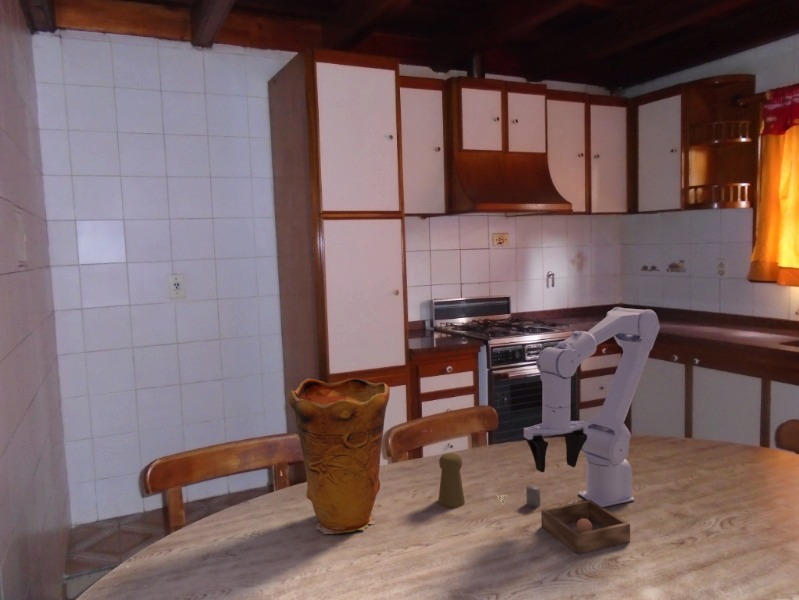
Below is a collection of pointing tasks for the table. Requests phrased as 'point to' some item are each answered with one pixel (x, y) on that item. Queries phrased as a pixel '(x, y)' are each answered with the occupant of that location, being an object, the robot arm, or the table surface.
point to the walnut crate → (591, 540)
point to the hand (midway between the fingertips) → (555, 468)
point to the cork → (451, 481)
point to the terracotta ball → (584, 525)
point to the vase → (341, 448)
